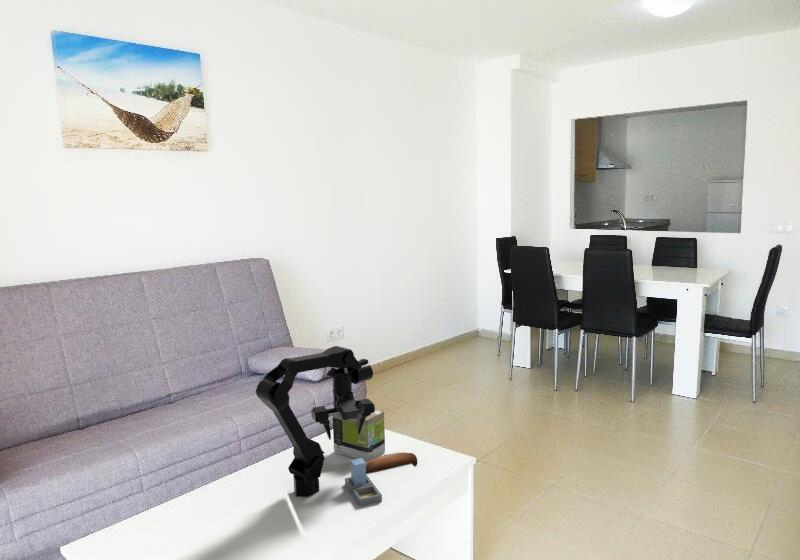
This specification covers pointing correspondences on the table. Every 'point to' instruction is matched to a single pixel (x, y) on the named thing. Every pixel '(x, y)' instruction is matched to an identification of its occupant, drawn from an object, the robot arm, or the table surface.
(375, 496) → the panel
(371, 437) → the tea box
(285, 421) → the robot arm
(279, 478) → the table surface
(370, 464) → the sunglasses case
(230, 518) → the table surface
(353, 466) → the plug
